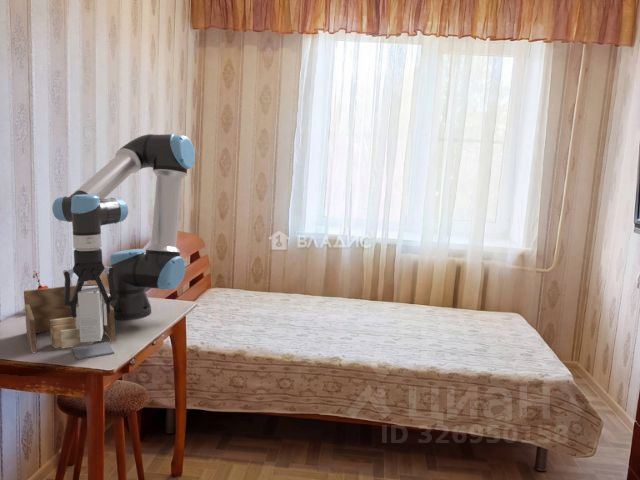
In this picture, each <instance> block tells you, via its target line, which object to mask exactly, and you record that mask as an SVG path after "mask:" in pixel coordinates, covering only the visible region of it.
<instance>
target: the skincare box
mask: <svg viewBox="0 0 640 480" xmlns="http://www.w3.org/2000/svg"><path fill="white" fill-rule="evenodd" d="M78 305H79V328H80V342H91V341H93V342H101V341H102V339H103V335H104V329H103V317H102V294H101V291H100V288H99V287H98V286H82V289H81V291H79V292H78Z"/></svg>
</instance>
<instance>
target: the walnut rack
mask: <svg viewBox="0 0 640 480" xmlns="http://www.w3.org/2000/svg"><path fill="white" fill-rule="evenodd" d="M76 285H77V284H76ZM76 285H75V284H74V285H70V301H71V300H72V297H73V294H74V291H75V288H76ZM83 286H98V285H97V283H96V282H93V283H87V284H86V283H85V284H83ZM64 287H65V285H64V286H57V287H48V288H45V289H38V288H37V289H28V290H26V289H25V290H23V300H24V314H25V315H24V316H25V317H24V318H25V326H26V327H25V329H26V330H25V331H26V335H27V339H28V343H29V346H30V347H29V348H30V349H31V350H30V351H31V353H33V352H35V353H37V352H38V351H37V337H36V334H38V333H43V332H51V330H50V320H51V319H59V318H67V317H72V315H71V307H70V306H66V305H65V304H64ZM102 302H105V300H104V298H103V296H102ZM76 305H78V301H77V304H76ZM78 306H79V305H78ZM115 326H116V323H115V319H114V309H113V308H112V306H111V305H110V313H107V325H105V326H104V324H103V332H105V334H106V335H107V336H108V338H109V340H110V341H112V342H113V341H116V327H115Z"/></svg>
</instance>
